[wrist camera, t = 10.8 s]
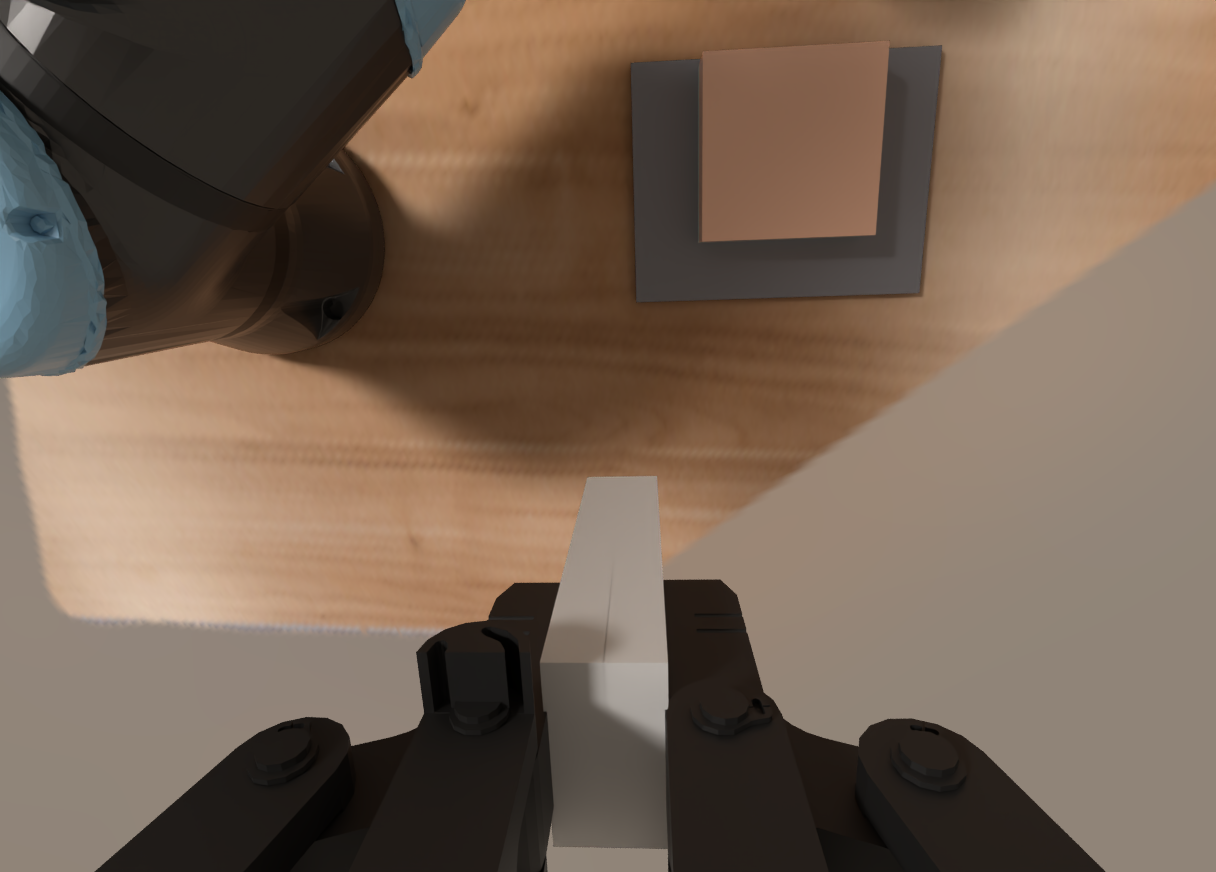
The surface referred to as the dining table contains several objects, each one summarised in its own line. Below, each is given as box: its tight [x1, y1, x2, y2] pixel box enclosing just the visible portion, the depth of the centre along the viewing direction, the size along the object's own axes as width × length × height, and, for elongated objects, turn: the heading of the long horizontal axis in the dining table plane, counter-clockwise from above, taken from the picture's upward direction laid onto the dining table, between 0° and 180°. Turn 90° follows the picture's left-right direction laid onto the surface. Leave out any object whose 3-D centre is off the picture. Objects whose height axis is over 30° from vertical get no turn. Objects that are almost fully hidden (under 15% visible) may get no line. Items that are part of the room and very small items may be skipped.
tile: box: [698, 41, 890, 243], centre depth 38 cm, size 10×3×10 cm
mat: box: [631, 45, 942, 302], centre depth 40 cm, size 18×14×1 cm
